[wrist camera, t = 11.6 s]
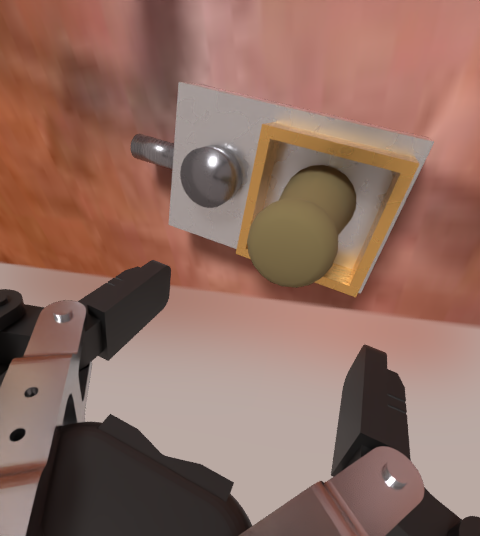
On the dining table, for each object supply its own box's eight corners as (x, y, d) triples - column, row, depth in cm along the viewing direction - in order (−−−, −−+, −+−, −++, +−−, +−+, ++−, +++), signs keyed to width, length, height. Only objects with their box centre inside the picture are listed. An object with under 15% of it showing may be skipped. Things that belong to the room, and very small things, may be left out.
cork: (268, 203, 27) (212, 252, 18) (317, 147, 24) (279, 173, 15) (317, 250, 27) (287, 321, 18) (373, 201, 24) (370, 259, 15)
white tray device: (155, 73, 30) (102, 66, 24) (426, 137, 24) (441, 146, 19) (151, 200, 37) (109, 218, 31) (362, 273, 31) (358, 311, 25)
